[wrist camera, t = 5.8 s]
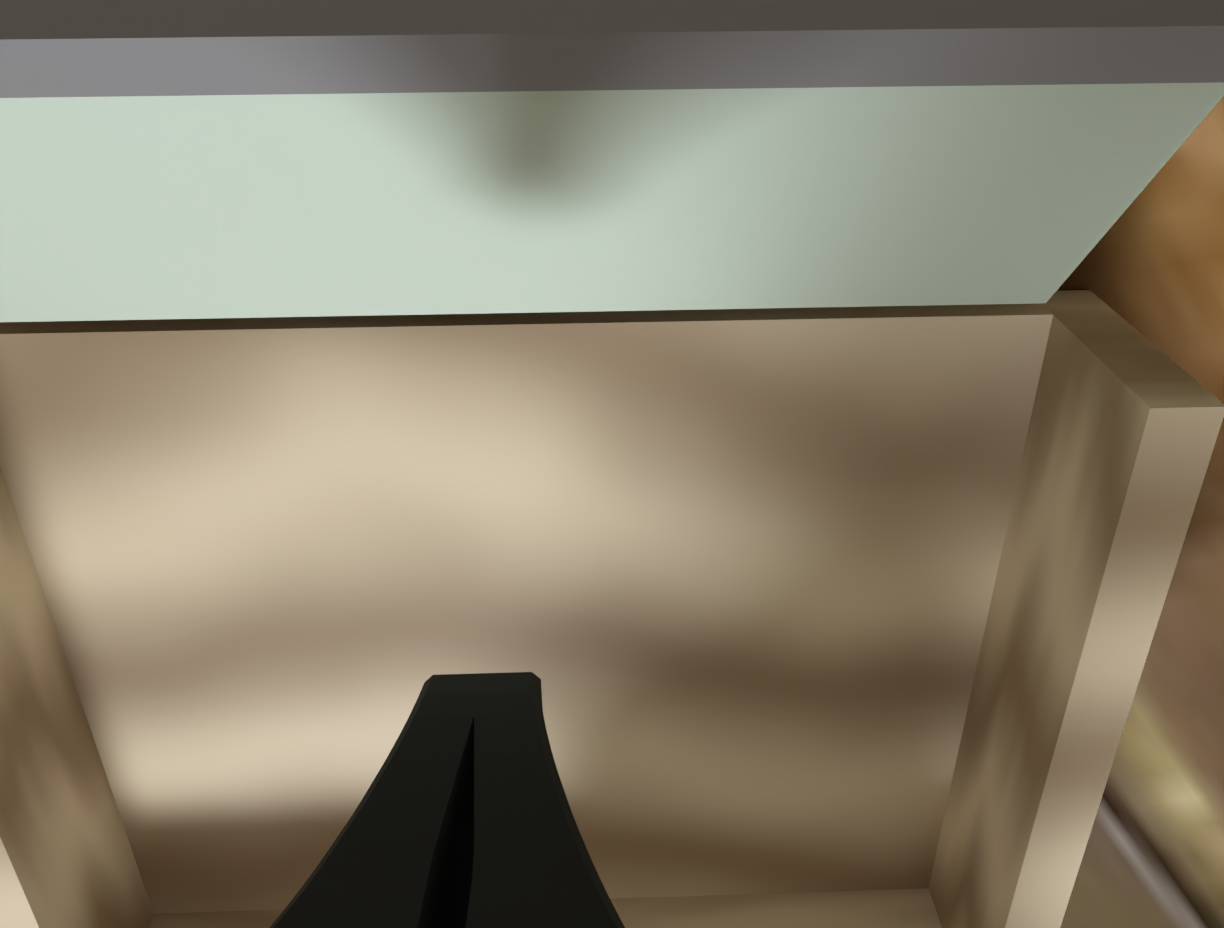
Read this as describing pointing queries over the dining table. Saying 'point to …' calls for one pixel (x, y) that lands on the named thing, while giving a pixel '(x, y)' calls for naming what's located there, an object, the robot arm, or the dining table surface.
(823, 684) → the cart bed
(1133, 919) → the dining table surface
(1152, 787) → the dining table surface
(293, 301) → the panel
